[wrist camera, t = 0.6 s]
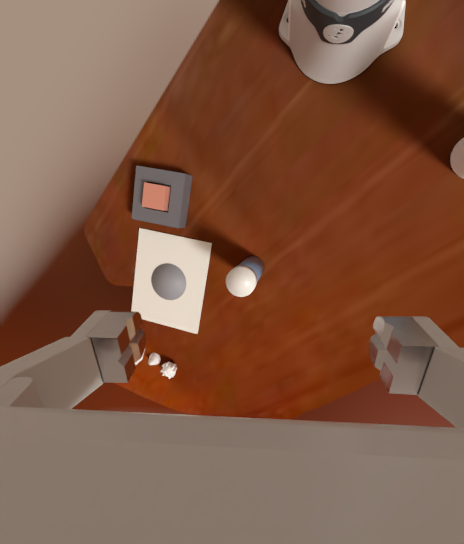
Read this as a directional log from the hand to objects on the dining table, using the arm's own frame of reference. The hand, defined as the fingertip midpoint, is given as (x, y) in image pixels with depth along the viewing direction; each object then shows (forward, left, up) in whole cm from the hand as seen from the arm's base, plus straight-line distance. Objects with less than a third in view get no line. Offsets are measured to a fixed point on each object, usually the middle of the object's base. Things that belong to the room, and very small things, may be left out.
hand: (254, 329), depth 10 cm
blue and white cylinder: (+7, -5, -45) cm, 45 cm away
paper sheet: (+14, -22, -45) cm, 52 cm away
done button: (-3, -25, -43) cm, 50 cm away
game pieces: (+33, -24, -45) cm, 61 cm away
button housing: (-3, -25, -45) cm, 51 cm away
